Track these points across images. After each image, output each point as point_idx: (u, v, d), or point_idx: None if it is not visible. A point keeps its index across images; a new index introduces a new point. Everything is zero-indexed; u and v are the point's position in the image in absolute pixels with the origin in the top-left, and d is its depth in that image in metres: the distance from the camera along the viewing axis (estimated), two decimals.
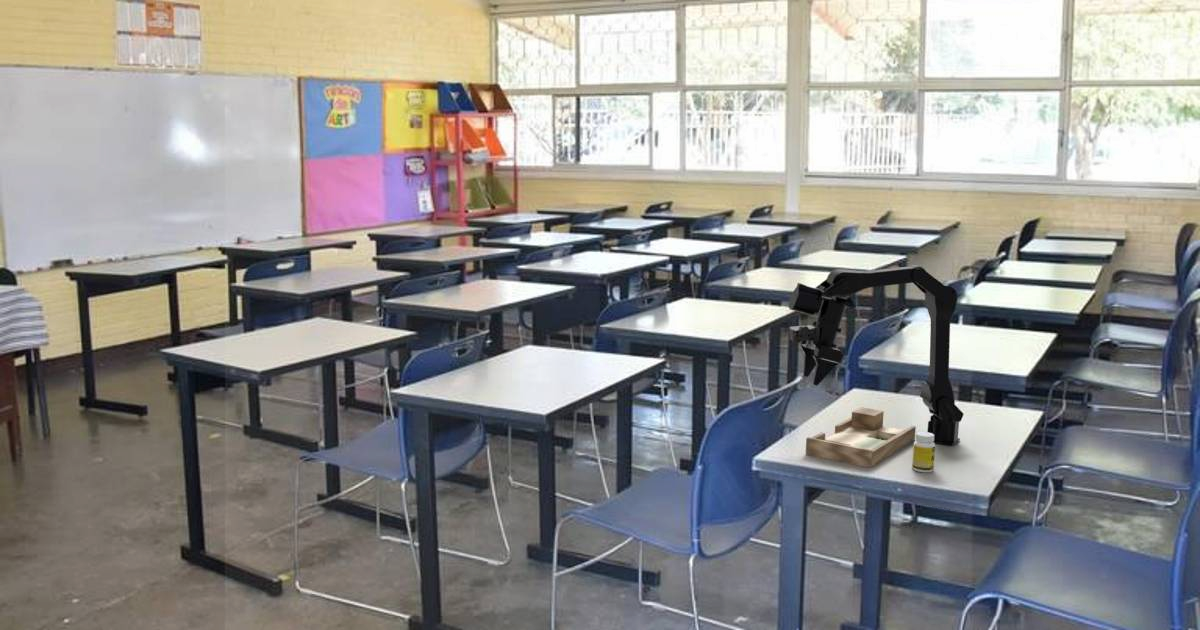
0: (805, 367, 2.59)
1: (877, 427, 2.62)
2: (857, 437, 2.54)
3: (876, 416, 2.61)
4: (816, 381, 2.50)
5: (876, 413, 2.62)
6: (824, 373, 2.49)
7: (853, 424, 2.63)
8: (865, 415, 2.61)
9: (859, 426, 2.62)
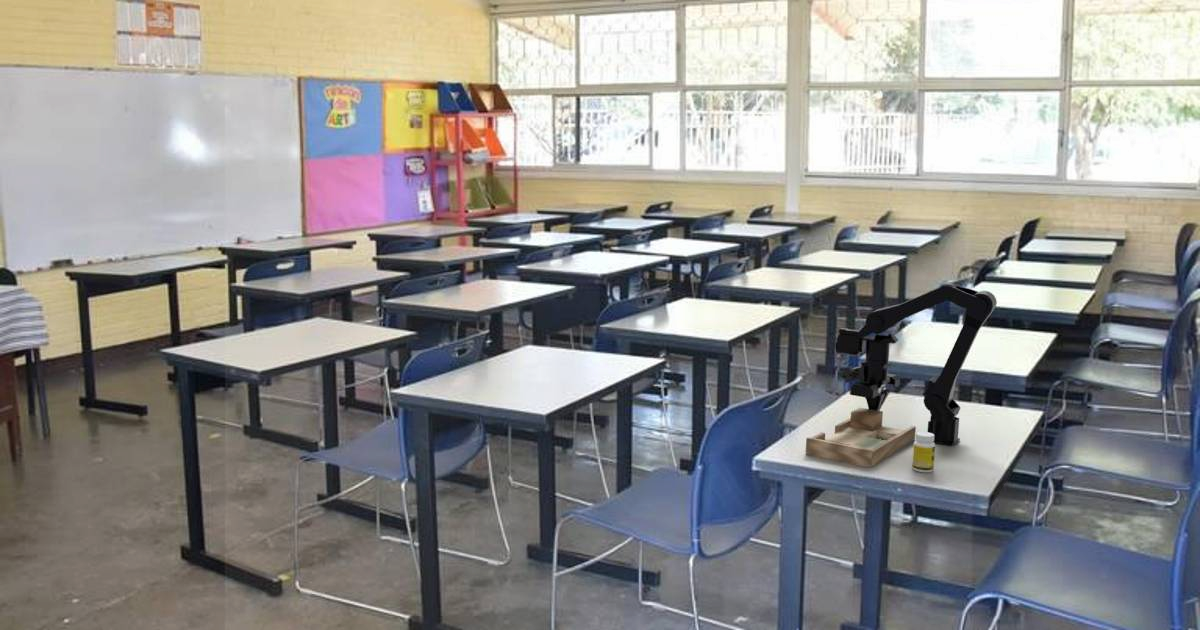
0: None
1: (876, 427, 2.62)
2: (857, 437, 2.54)
3: (875, 416, 2.60)
4: None
5: (875, 413, 2.61)
6: (875, 406, 2.65)
7: (852, 425, 2.63)
8: (864, 415, 2.61)
9: (858, 426, 2.62)
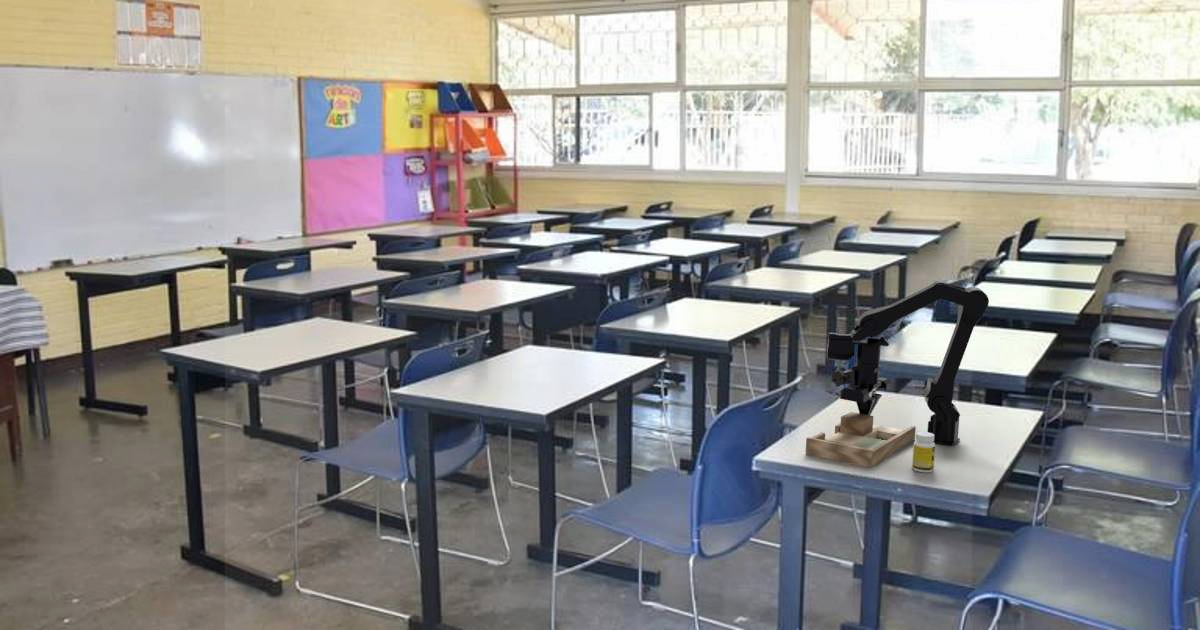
0: None
1: (866, 432, 2.57)
2: (857, 437, 2.54)
3: (866, 421, 2.56)
4: None
5: (865, 418, 2.57)
6: (866, 410, 2.60)
7: (842, 429, 2.58)
8: (854, 420, 2.56)
9: (848, 431, 2.57)
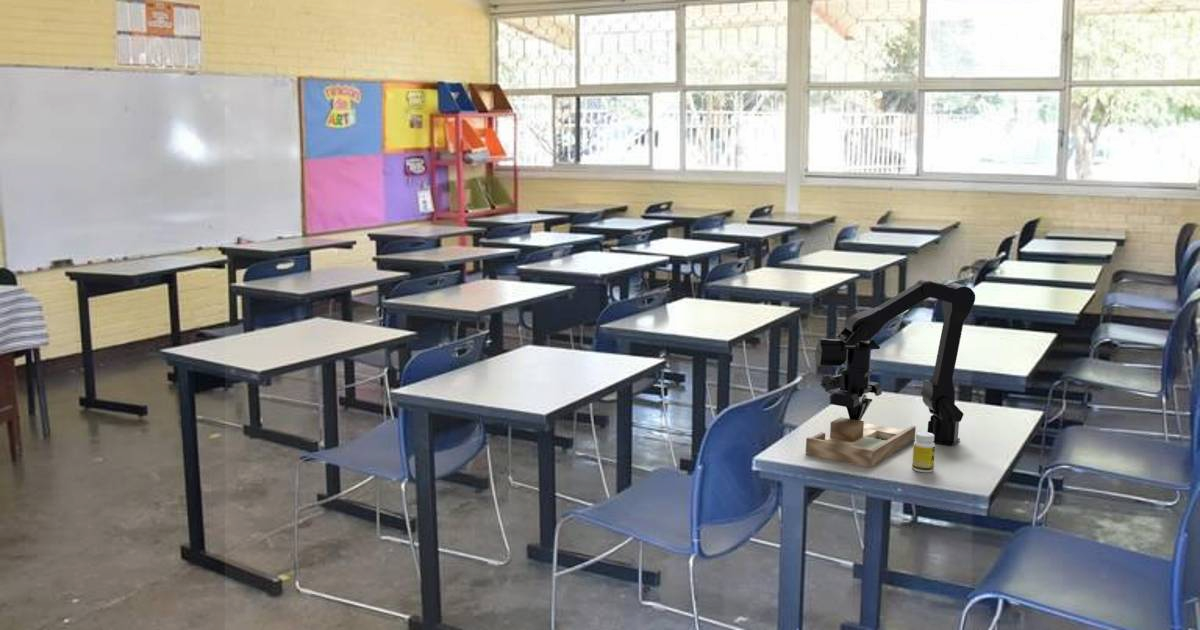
0: None
1: (857, 438, 2.52)
2: None
3: (856, 427, 2.51)
4: None
5: (856, 423, 2.52)
6: (856, 415, 2.55)
7: (831, 435, 2.53)
8: (844, 425, 2.51)
9: (838, 437, 2.52)
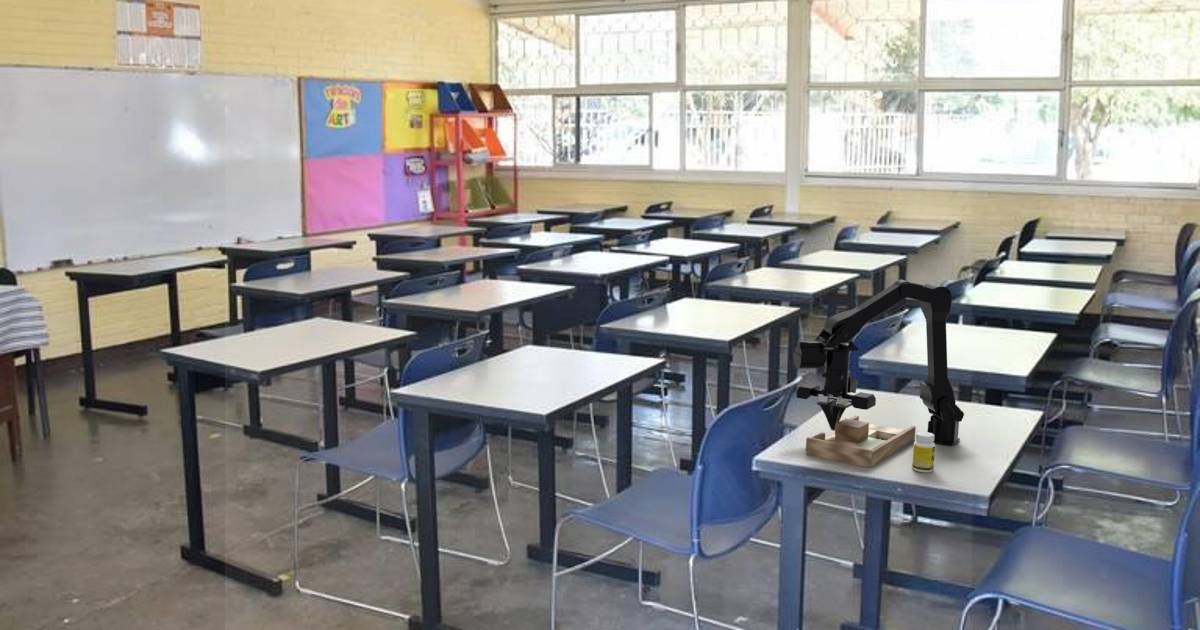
0: None
1: (862, 439, 2.51)
2: None
3: (861, 428, 2.50)
4: None
5: (861, 425, 2.51)
6: None
7: (836, 436, 2.52)
8: (849, 427, 2.50)
9: (843, 438, 2.51)
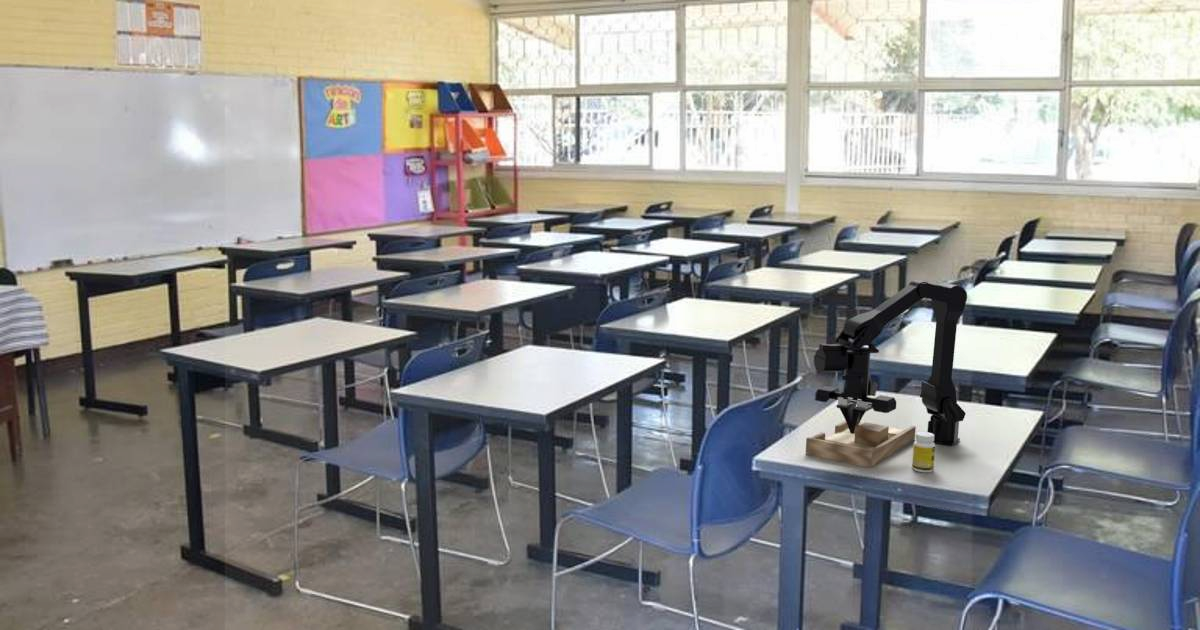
0: None
1: None
2: None
3: (881, 432, 2.47)
4: None
5: (881, 429, 2.47)
6: None
7: (856, 440, 2.49)
8: (869, 431, 2.47)
9: (863, 442, 2.48)
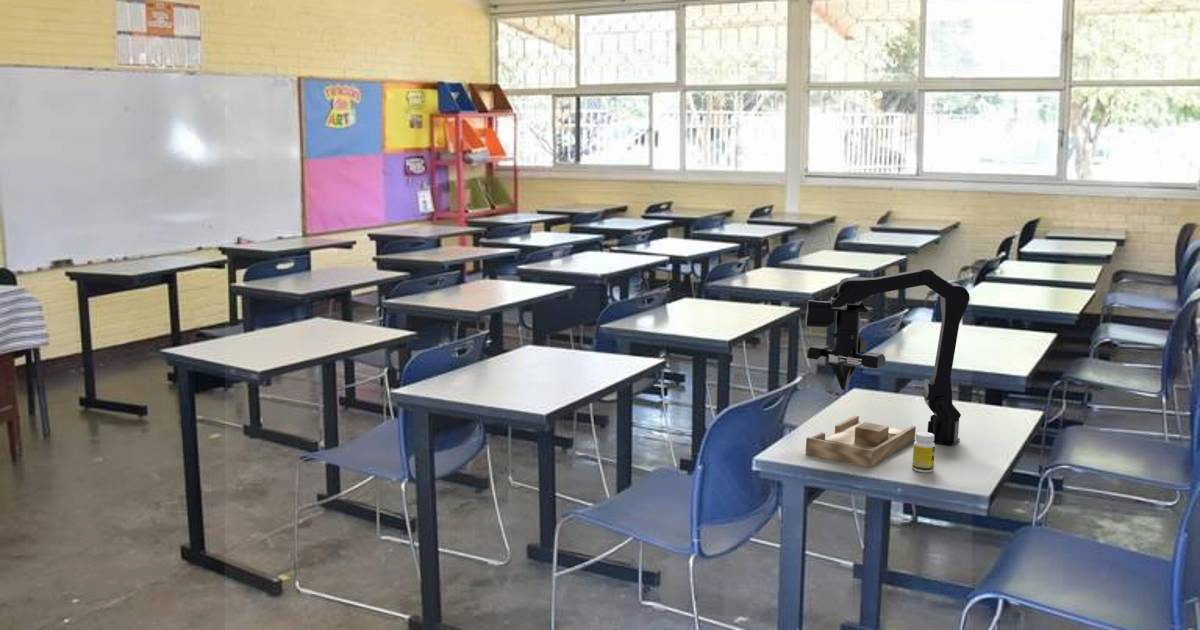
0: None
1: None
2: None
3: (881, 432, 2.47)
4: None
5: (881, 429, 2.47)
6: None
7: (856, 440, 2.49)
8: (869, 431, 2.47)
9: (863, 442, 2.48)
